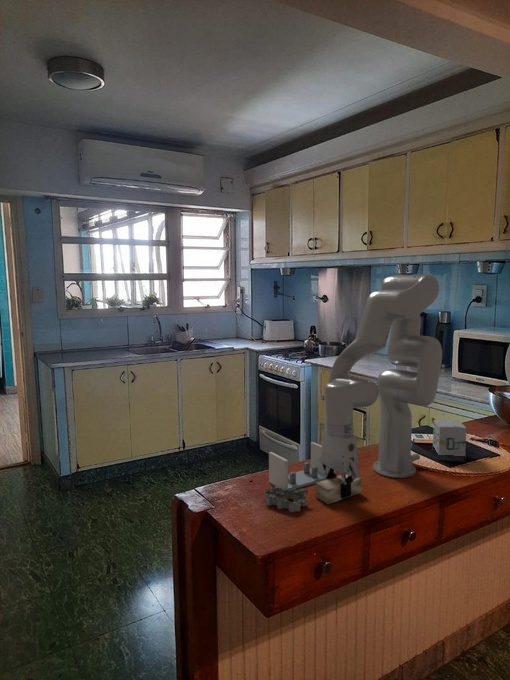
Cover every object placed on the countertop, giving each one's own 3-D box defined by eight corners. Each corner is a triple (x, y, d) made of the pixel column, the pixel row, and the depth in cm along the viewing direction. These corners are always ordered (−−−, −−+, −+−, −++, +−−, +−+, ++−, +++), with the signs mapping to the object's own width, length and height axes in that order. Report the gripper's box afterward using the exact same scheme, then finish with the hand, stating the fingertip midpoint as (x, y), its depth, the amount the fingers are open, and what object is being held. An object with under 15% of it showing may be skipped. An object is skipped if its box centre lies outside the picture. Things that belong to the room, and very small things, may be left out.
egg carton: (310, 504, 124) (310, 490, 124) (294, 515, 118) (295, 500, 118) (276, 494, 130) (276, 479, 130) (260, 504, 124) (260, 489, 124)
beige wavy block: (348, 486, 134) (348, 472, 133) (361, 492, 129) (361, 478, 129) (315, 497, 127) (315, 483, 127) (328, 504, 123) (328, 489, 122)
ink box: (432, 452, 161) (433, 419, 160) (458, 453, 160) (459, 419, 159) (438, 461, 153) (439, 426, 152) (465, 462, 152) (467, 427, 150)
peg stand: (313, 470, 146) (313, 442, 145) (330, 478, 140) (330, 449, 139) (269, 482, 138) (268, 452, 137) (285, 492, 131) (285, 461, 130)
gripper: (372, 434, 121) (371, 501, 123) (328, 418, 135) (328, 478, 137) (350, 439, 117) (350, 509, 119) (307, 423, 131) (308, 485, 133)
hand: (338, 492), depth 128 cm, fingers closed on beige wavy block, 5 cm apart
